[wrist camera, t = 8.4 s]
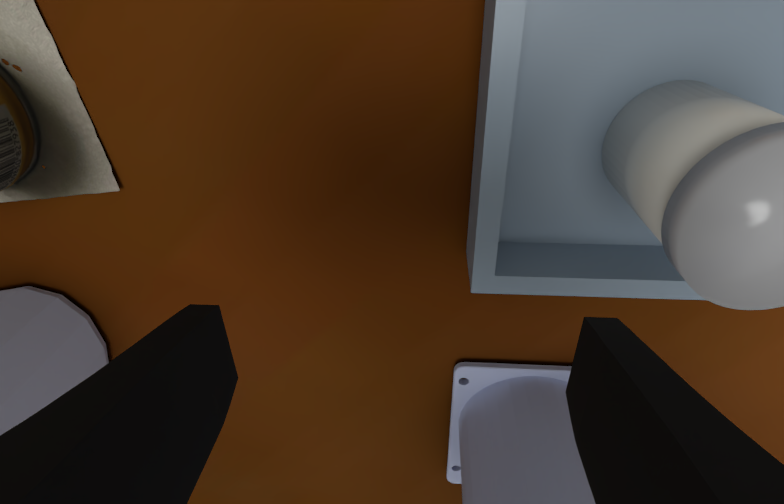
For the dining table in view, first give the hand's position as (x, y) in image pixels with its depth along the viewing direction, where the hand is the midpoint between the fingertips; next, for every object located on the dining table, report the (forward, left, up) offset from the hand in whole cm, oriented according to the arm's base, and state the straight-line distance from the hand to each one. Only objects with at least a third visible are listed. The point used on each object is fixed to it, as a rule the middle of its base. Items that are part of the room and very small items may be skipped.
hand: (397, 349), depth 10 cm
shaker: (+1, -9, -10) cm, 13 cm away
